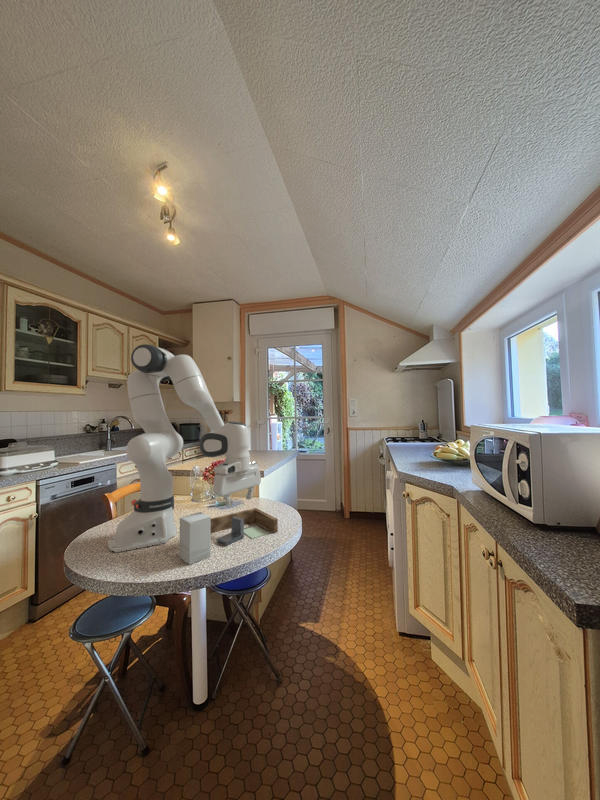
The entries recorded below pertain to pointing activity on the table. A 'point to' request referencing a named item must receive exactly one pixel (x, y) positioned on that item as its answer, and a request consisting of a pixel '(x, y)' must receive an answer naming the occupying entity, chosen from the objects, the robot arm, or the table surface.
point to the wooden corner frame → (245, 520)
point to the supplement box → (195, 537)
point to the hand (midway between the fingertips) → (239, 502)
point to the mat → (254, 532)
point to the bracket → (233, 532)
